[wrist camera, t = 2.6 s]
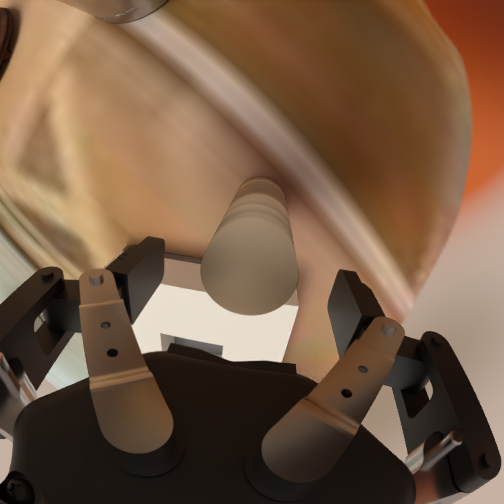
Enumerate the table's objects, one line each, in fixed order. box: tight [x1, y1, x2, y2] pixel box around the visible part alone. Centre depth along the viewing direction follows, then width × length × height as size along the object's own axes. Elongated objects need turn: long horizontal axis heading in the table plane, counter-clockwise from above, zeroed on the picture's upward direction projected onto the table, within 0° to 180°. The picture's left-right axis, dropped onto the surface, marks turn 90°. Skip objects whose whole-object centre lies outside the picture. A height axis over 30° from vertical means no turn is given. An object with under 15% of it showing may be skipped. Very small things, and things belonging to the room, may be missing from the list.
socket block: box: [103, 246, 299, 362], centre depth 26 cm, size 16×16×5 cm
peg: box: [200, 177, 299, 316], centre depth 17 cm, size 4×4×12 cm
